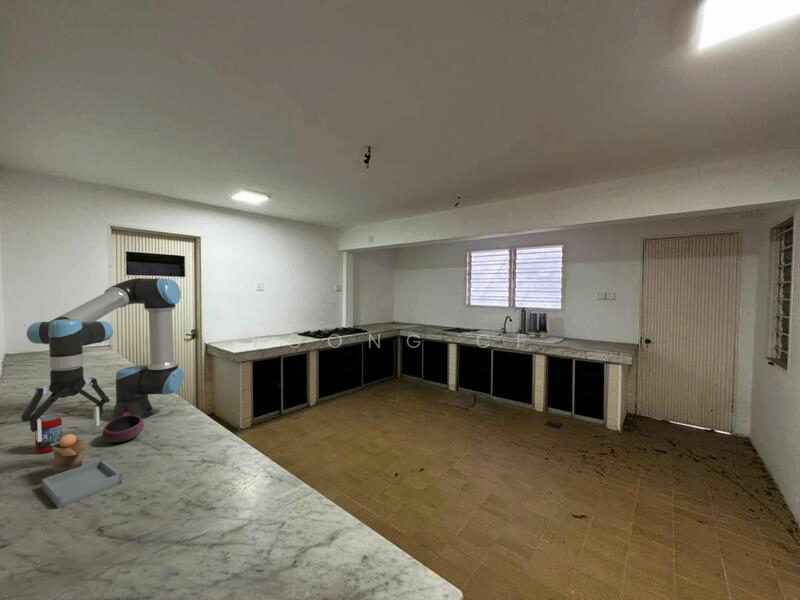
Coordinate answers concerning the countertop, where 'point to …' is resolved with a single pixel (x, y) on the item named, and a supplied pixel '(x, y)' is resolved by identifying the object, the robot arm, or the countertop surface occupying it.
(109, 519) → the countertop surface
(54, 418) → the beverage can
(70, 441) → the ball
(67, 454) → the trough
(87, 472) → the tray
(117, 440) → the bowl
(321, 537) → the countertop surface
